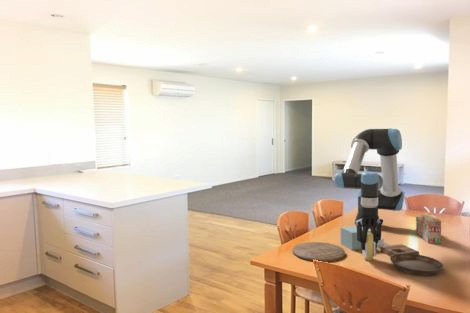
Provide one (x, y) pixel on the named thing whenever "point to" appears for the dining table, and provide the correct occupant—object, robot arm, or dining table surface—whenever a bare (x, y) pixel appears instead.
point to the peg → (369, 247)
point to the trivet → (318, 251)
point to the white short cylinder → (381, 243)
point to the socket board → (397, 250)
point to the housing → (350, 237)
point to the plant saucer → (416, 264)
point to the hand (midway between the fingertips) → (368, 255)
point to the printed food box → (429, 228)
